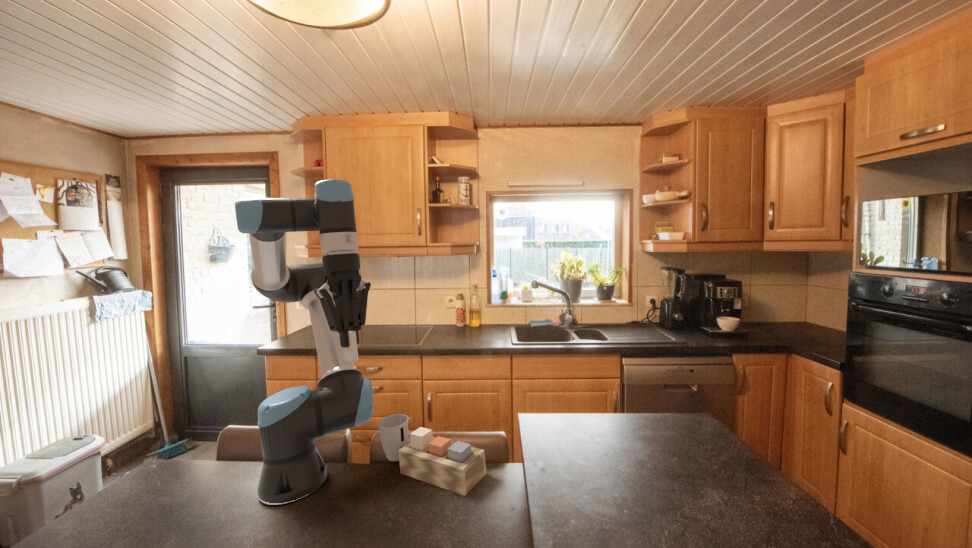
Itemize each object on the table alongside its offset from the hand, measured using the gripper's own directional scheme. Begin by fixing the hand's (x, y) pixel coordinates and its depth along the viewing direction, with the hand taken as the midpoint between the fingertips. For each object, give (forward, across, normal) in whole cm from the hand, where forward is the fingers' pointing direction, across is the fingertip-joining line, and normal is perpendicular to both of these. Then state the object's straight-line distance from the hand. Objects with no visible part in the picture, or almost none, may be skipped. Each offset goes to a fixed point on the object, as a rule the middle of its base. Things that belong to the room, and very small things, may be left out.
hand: (351, 360), depth 82 cm
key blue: (+30, +16, -15) cm, 37 cm away
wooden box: (+32, +16, -9) cm, 37 cm away
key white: (+29, +16, -3) cm, 33 cm away
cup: (+33, +17, +8) cm, 38 cm away
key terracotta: (+30, +16, -9) cm, 35 cm away
